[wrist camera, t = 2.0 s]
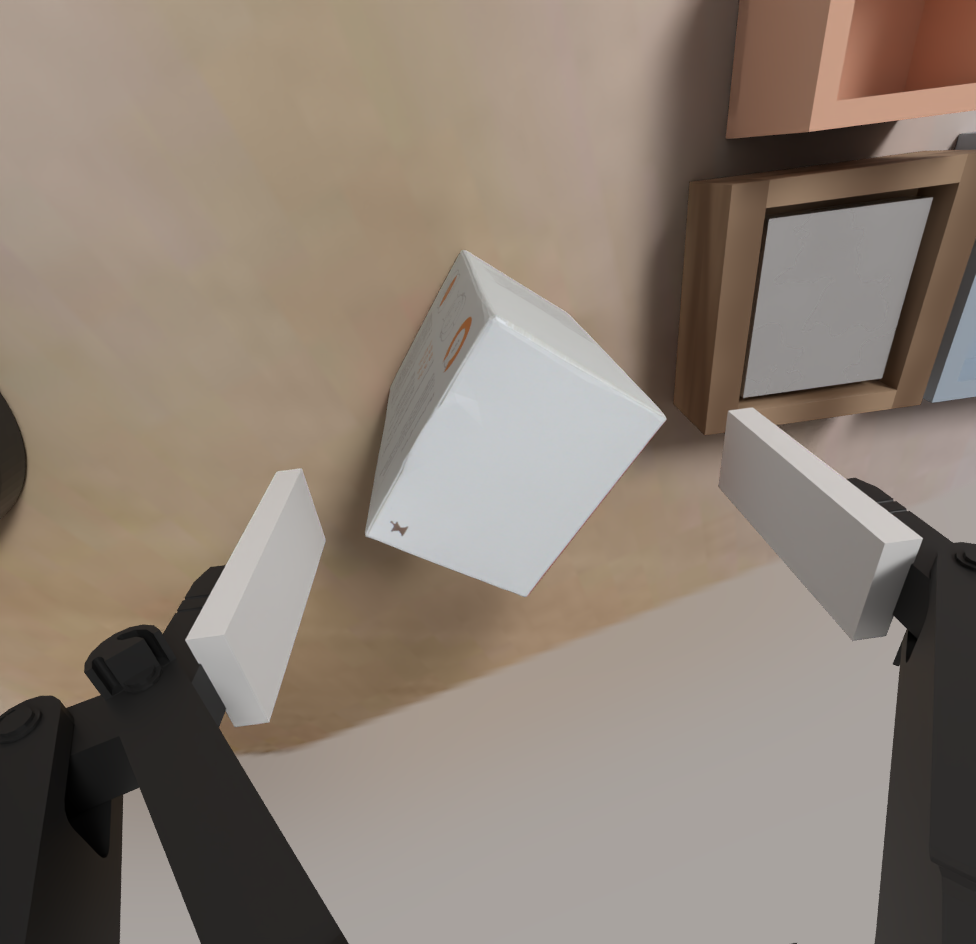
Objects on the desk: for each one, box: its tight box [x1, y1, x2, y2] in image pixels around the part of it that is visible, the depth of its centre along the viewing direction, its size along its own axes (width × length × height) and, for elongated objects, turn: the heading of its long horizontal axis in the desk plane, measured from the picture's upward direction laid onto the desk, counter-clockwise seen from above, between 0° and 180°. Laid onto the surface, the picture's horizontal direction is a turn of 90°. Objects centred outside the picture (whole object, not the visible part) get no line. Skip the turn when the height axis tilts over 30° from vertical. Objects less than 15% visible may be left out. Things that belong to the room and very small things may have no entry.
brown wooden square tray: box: [673, 150, 976, 435], centre depth 25 cm, size 11×11×4 cm
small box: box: [365, 250, 667, 597], centre depth 22 cm, size 8×6×13 cm
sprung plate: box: [740, 196, 933, 398], centre depth 25 cm, size 7×8×1 cm
